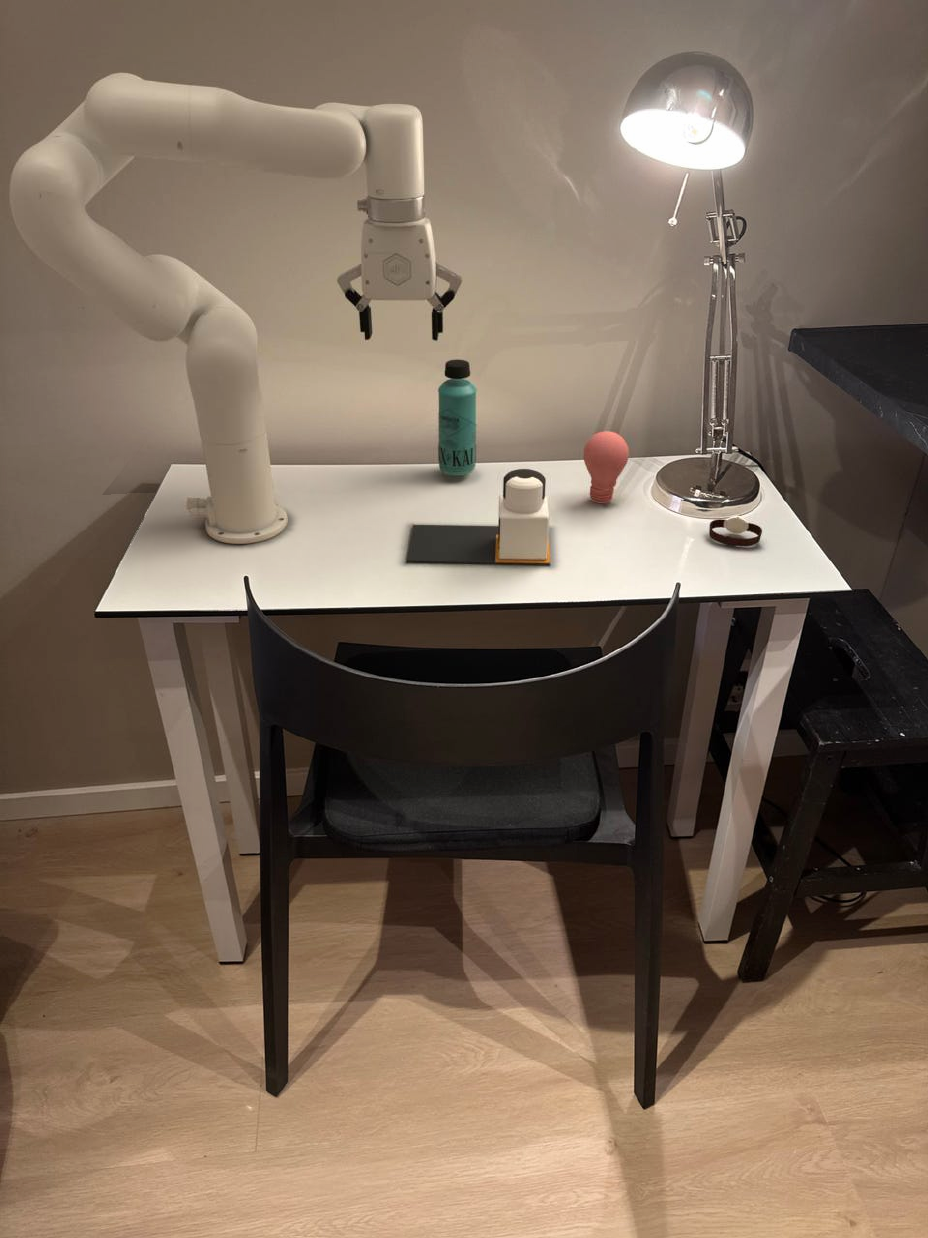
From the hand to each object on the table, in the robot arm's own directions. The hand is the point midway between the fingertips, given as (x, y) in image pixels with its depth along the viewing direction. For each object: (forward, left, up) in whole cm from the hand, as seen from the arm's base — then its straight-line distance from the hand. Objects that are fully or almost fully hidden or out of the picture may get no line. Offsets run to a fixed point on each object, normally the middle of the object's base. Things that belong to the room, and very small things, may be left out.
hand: (402, 337), depth 137 cm
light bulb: (+31, +5, -28) cm, 42 cm away
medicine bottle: (+18, -11, -28) cm, 35 cm away
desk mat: (+12, -10, -28) cm, 32 cm away
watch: (+50, -7, -28) cm, 58 cm away
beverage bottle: (+7, +14, -28) cm, 33 cm away
